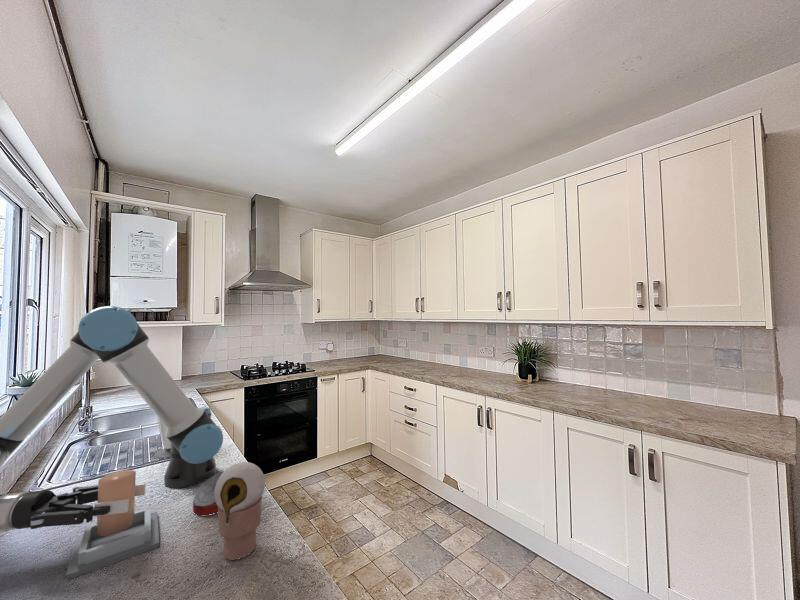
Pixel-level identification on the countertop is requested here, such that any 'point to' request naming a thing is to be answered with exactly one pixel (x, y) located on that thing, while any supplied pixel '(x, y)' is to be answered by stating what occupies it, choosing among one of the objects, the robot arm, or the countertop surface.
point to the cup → (167, 444)
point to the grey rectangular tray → (113, 544)
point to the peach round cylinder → (112, 490)
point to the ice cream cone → (239, 507)
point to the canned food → (206, 497)
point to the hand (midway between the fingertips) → (136, 497)
